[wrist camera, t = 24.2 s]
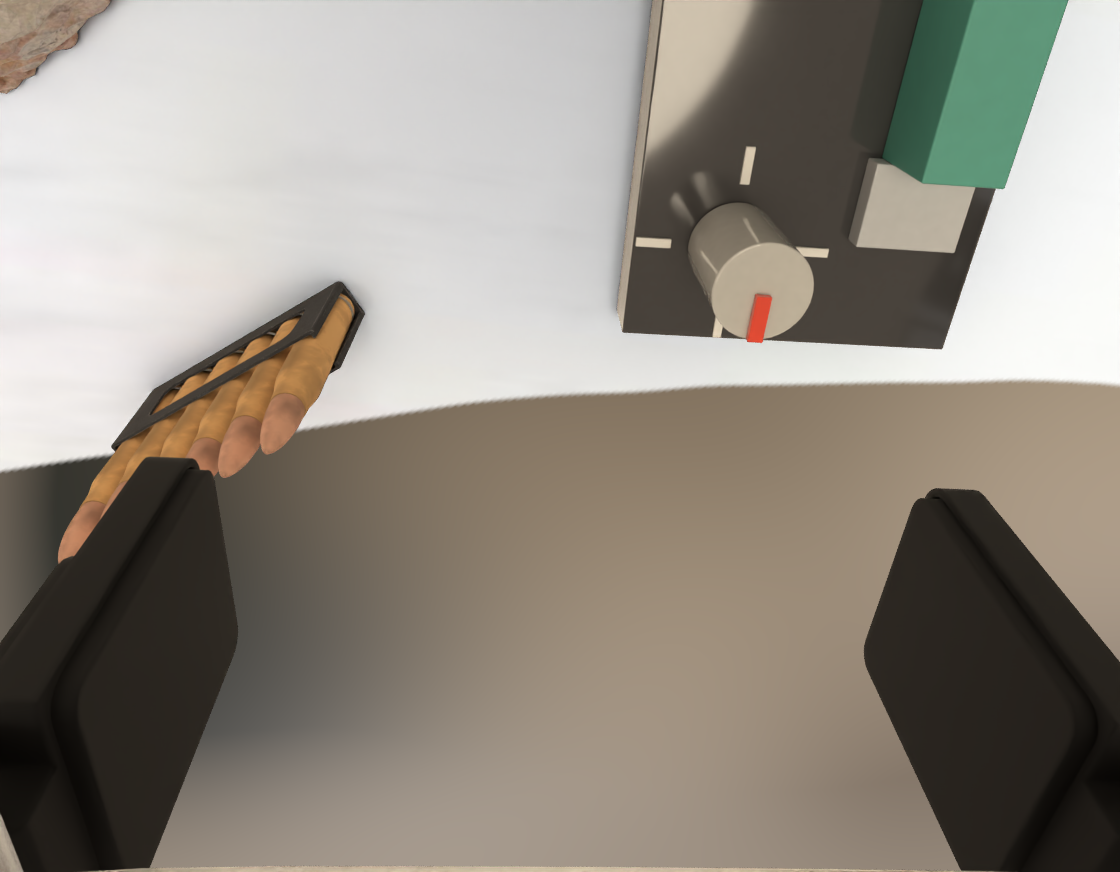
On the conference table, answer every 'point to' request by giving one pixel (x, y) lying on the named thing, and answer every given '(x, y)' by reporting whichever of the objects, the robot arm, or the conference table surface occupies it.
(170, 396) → the ammunition clip
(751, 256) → the dial
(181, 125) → the conference table surface
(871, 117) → the hob
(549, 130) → the conference table surface
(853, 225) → the teal post
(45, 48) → the geological specimen
